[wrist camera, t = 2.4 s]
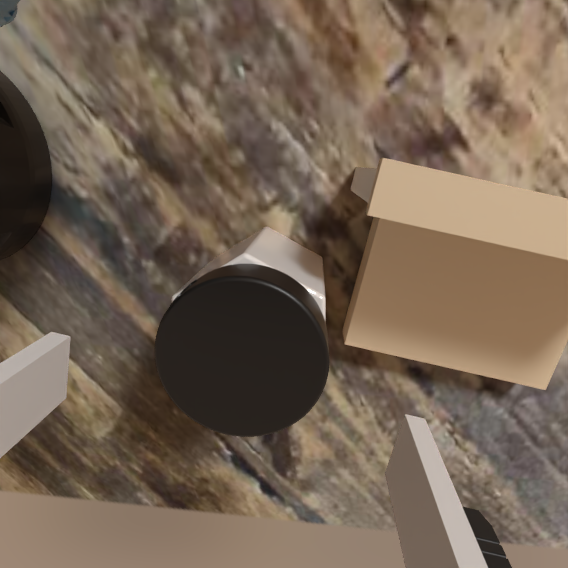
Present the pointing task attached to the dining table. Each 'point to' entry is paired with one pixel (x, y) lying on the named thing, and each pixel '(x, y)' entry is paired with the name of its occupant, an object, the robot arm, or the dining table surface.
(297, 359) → the jar
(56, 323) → the dining table surface
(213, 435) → the dining table surface
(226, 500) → the dining table surface
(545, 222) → the cleat board
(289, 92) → the dining table surface
